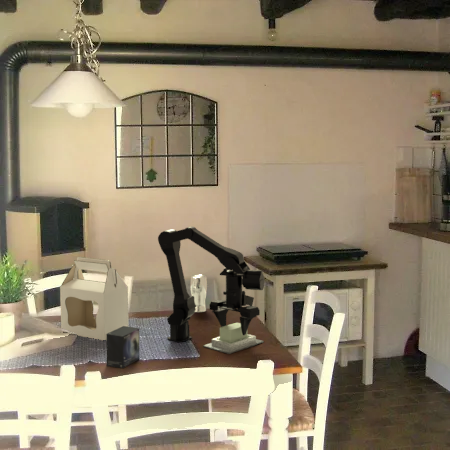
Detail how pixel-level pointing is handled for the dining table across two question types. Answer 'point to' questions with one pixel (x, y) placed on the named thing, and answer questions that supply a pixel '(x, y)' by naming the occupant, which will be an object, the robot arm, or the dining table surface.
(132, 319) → the dining table surface
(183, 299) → the robot arm
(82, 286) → the gable box
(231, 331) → the green block
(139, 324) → the dining table surface
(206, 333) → the dining table surface
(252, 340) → the collar
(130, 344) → the small box
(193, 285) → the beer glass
